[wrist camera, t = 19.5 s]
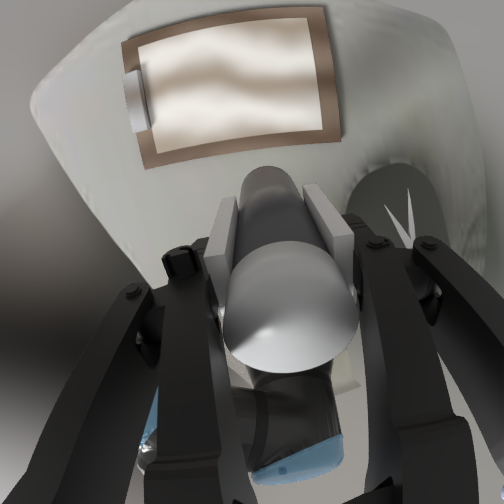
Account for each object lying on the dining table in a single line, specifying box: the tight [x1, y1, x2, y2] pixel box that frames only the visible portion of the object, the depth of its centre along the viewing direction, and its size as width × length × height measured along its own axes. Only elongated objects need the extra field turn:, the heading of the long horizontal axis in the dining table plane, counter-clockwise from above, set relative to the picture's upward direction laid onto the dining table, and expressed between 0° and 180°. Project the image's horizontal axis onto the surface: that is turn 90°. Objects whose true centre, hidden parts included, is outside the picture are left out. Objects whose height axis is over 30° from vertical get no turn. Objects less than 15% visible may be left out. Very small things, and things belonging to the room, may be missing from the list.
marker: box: [223, 166, 359, 373], centre depth 14 cm, size 4×4×14 cm
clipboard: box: [121, 7, 341, 170], centre depth 24 cm, size 16×22×2 cm
